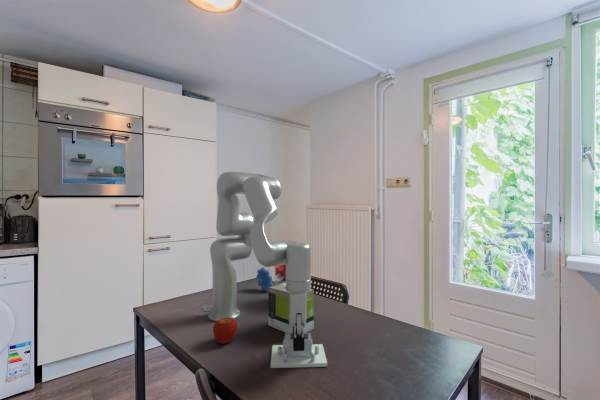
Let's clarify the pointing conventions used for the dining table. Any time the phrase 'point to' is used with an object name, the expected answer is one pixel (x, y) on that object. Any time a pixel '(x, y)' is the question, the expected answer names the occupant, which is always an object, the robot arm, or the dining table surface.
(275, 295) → the tea box
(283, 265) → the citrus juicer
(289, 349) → the block
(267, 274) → the grapes
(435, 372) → the dining table surface
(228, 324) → the apple
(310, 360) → the white peg board
